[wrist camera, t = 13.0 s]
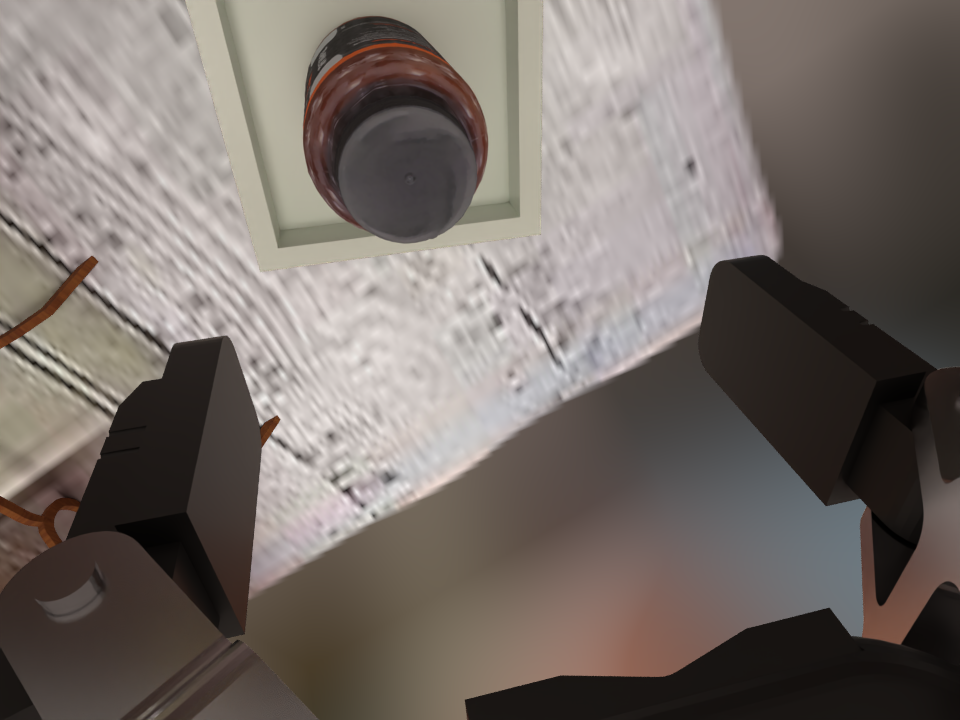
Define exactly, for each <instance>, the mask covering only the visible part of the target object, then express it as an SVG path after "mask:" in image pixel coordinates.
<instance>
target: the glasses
mask: <svg viewBox="0 0 960 720" xmlns="http://www.w3.org/2000/svg"><path fill="white" fill-rule="evenodd" d="M97 263H98V261H97V260H96V258H95V257H93V256H91V257H90V258H88V259H87V260H86V261H85V262H83V263H82V264H81V265H80V266H78V267H77V268H76V270H75V271H74V272H73V273H72V274H71V275H70V276H69V278H68V279H67V280H66V281H65V282H64V283H63V284H62V286H61V287H60V288H59V289H58V290H57V291H56V293H55V294H54V295H53V296H52V297H51V298H50V299H49V301H48V302H47V303H46V304H45V305H44V306H43V307H42V308H41V309H40V310H38V311H37V312H35V313H34V314H33V315H31V316H30V317H28V318H27V319H25V320H24V321H23V322H21V323H20V324H18V325H17V326H15V327H14V328H12V329H11V330H9V331H7V332H6V333H4V334H2V335H1V336H0V349H1V348H3V347H4V346H6V345H8V344H9V343H11V342H13V341H14V340H16V339H18V338H19V337H21V336H22V335H24V334H25V333H27V332H28V331H30V330H31V329H33V328H34V327H35V326H37V325H38V324H40V323H41V322H43V321H44V320H46V319H47V318H48V317H50V316H51V315H53V314H54V313H55V311H56V310H57V309H58V308H59V307H60V306H61V305H62V303H63V302H64V301H65V300H66V299H67V298H68V296H69V295H70V294H71V293H72V292H73V291H74V289H75V288H76V287H77V286H78V285H79V284H80V282H81V281H82V280H83V279H84V278H85V277H86V276H87V274H88V273H89V272H90V271H91V270H92V269H93V267H94V266H95V265H96V264H97ZM279 421H280V418H279V417H278V416H275V417H274V418H272V419H270V420H268V421H267V422H265V423H264V425H263V426H262V428H261V429H260V434H261V448H262V447H263V445H264V444H265V442H266V441H267V439H268V438H269V436H270V435H271V433H272V432H273V430H274V429H275V427H276V426H277V424H278V423H279ZM80 503H81V502H79V501H77V500H75V499H71V498H60V499H57V500H55V501H54V502H53V503H52V504H51V505H49V506H48V507H47V508H46V509H45V511H44V512H43V514H42V516H40V515H36V514H33V513H31V512H29V511H27V510H25V509H23V508H21V507H19V506H17V505H16V504H14V503H12V502H10V501H8V500H7V499H5V498H3V497H1V496H0V513H2V514H4V515H6V516H8V517H10V518H12V519H14V520H16V521H18V522H20V523H22V524H25V525H29V526H37V527H38V529H39V533H40V535H41V537H42V539H43V540H44V542H45V543H46V544H47V546H48V547H49V548H51V547H53V546H55V545H57V544H59V543H61V542H62V540H61V539H60V538H59V536H58V535H57V533H56V531H55V528H54V518H55V516H56V514H57V512H58V511H59V510H71V511H75V512H77V511H78V508H79V506H80Z"/></svg>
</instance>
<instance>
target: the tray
mask: <svg viewBox="0 0 960 720" xmlns="http://www.w3.org/2000/svg"><path fill="white" fill-rule="evenodd" d="M185 2H186V6H187V9H188V13H189V16H190V20H191V24H192V27H193V31H194V34H195V38H196V42H197V45H198V49H199V52H200V56H201V60H202V63H203V67H204V71H205V74H206V78H207V81H208V85H209V89H210V92H211V96H212V99H213V103H214V107H215V110H216V114H217V117H218V121H219V125H220V128H221V132H222V135H223V139H224V143H225V146H226V150H227V154H228V157H229V161H230V164H231V168H232V172H233V175H234V179H235V182H236V186H237V190H238V193H239V197H240V200H241V204H242V208H243V211H244V215H245V218H246V222H247V226H248V229H249V233H250V237H251V240H252V244H253V247H254V251H255V255H256V258H257V262H258V265H259V269H260V272H264V271H272V270H279V269H287V268H294V267H301V266H309V265H316V264H324V263H331V262H339V261H346V260H354V259H361V258H369V257H376V256H384V255H391V254H399V253H406V252H414V251H421V250H429V249H436V248H444V247H451V246H459V245H466V244H474V243H481V242H488V241H496V240H503V239H511V238H518V237H526V236H533V235H541V140H542V39H543V0H185ZM365 16H382V17H388V18H392V19H395V20H398V21H400V22H403V23H405V24H407V25H409V26H411V27H412V28H414V29H415V30H417V31H418V32H419V33H420V34H421V35H422V36H423V37H424V38H425V39H426V40H427V41H428V42H429V43H430V44H431V45H432V46H433V47H434V48H435V49H436V50H437V51H438V52H439V53H440V54H441V56H442V57H443V58H444V59H445V60H446V61H447V62H448V63H449V64H450V65H451V66H452V67H453V68H454V70H455V71H456V72H457V73H458V74H459V75H460V76H461V77H462V78H463V79H464V81H465V82H466V83H467V84H468V85H469V86H470V88H471V89H472V91H473V92H474V94H475V96H476V98H477V100H478V102H479V104H480V106H481V109H482V112H483V115H484V118H485V122H486V127H487V133H488V156H487V163H486V167H485V172H484V174H483V177H482V180H481V182H480V184H479V186H478V188H477V190H476V192H475V194H474V195H473V198H472V201H471V204H470V206H469V207H468V209H467V210H466V212H465V214H464V215H463V217H462V218H461V219H460V220H459V221H458V222H457V223H456V224H455V225H454V226H453V227H452V228H450V229H449V230H448V231H446V232H445V233H443V234H441V235H439V236H437V237H436V238H434V239H429V240H426V241H422V242H417V243H408V244H403V243H396V242H391V241H387V240H384V239H382V238H379V237H377V236H375V235H373V234H372V233H370V232H368V231H365V230H363V229H360V228H357V227H355V226H354V225H352V224H350V223H349V222H347V221H345V220H344V219H343V218H341V217H340V216H339V215H337V214H336V213H335V212H334V211H333V210H332V209H331V208H330V207H329V206H328V204H327V203H326V202H325V201H324V199H323V198H322V197H321V195H320V194H319V192H318V191H317V189H316V187H315V185H314V183H313V181H312V179H311V177H310V175H309V173H308V169H307V165H306V160H305V155H304V148H303V120H304V107H305V105H304V104H305V83H306V78H307V72H308V67H309V65H310V63H311V60H312V57H313V55H314V53H315V52H316V49H317V48H318V46H319V45H320V44H321V42H322V41H323V39H324V38H325V37H326V36H327V35H328V34H329V33H330V32H332V31H333V30H334V29H335V28H337V27H338V26H340V25H341V24H343V23H345V22H347V21H350V20H352V19H355V18H358V17H365Z"/></svg>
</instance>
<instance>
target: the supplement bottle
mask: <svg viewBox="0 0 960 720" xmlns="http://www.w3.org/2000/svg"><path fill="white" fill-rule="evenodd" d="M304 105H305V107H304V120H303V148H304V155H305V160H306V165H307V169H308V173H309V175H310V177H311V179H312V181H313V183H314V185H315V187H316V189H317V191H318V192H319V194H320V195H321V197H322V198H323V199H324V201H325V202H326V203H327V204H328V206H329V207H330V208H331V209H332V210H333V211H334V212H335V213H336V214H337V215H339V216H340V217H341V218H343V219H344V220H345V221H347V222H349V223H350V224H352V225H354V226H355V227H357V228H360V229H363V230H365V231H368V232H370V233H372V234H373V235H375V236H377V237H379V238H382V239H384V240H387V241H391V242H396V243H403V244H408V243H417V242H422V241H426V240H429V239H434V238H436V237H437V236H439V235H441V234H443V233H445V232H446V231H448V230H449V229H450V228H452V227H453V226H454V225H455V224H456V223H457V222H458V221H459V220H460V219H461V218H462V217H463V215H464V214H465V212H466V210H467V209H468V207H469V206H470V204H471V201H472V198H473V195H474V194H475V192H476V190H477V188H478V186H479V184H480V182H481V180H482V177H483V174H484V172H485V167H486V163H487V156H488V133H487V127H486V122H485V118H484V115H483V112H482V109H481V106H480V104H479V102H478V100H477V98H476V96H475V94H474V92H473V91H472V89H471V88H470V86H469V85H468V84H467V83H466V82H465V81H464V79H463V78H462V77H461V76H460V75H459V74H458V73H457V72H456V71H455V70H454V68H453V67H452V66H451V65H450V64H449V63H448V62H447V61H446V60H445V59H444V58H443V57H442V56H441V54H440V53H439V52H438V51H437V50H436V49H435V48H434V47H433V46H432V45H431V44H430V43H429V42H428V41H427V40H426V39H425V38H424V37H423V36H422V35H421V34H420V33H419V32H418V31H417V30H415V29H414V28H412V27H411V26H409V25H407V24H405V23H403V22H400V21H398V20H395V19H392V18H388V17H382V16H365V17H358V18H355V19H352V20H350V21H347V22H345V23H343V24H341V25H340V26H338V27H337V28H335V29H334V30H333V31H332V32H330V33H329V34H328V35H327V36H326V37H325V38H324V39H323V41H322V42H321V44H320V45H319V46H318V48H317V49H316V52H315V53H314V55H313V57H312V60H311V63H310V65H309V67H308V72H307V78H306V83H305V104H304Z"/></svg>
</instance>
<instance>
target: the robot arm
mask: <svg viewBox="0 0 960 720" xmlns="http://www.w3.org/2000/svg"><path fill="white" fill-rule="evenodd" d="M698 349H699V355H700V359H701V362H702V364H703V366H704V368H705V370H706V371H707V373H708V374H709V375H710V376H711V377H712V378H713V380H714V381H715V382H716V383H717V384H718V385H719V386H720V387H721V388H722V390H723V391H724V392H725V393H726V394H727V395H728V396H729V398H730V399H731V400H732V401H733V402H734V403H735V404H736V405H737V406H738V408H739V409H740V410H741V411H742V412H743V413H744V414H745V416H746V417H747V418H748V419H749V420H750V421H751V422H752V424H753V425H754V426H755V427H756V428H757V429H758V430H759V431H760V433H762V435H763V436H764V437H765V438H766V439H767V440H768V441H769V443H770V444H771V445H772V446H773V447H774V448H775V449H776V451H778V453H779V454H780V455H781V456H782V457H783V458H784V459H785V461H786V462H787V463H788V464H789V465H790V466H791V467H792V469H793V470H794V471H795V472H796V473H797V474H798V475H799V476H800V477H801V479H802V480H803V481H804V482H805V483H806V484H807V485H808V486H809V488H810V489H811V490H812V491H813V492H814V493H815V494H816V496H817V497H818V498H819V499H820V500H821V501H822V502H823V503H824V505H825V506H829V505H834V504H838V503H842V502H847V501H851V500H856V499H861V500H862V501H863V502H864V503H865V504H866V505H867V506H866V509H865V511H864V513H863V515H862V517H861V521H860V538H861V562H862V563H861V564H862V589H863V615H864V623H863V633H862V637H856V636H851V635H850V634H849V633H848V631H847V630H846V629H845V628H844V626H843V625H842V624H841V622H840V621H839V620H838V618H837V617H836V616H835V614H834V613H833V612H832V610H831V609H830V608H826V609H822V610H818V611H814V612H811V613H807V614H803V615H799V616H795V617H791V618H787V619H783V620H779V621H775V622H771V623H767V624H763V625H759V626H755V627H751V628H747V629H745V630H743V631H742V632H740V633H738V634H737V635H735V636H734V637H732V638H730V639H729V640H727V641H726V642H724V643H722V644H721V645H719V646H718V647H716V648H714V649H713V650H711V651H710V652H708V653H706V654H705V655H703V656H702V657H700V658H698V659H697V660H695V661H693V662H692V663H690V664H689V665H687V666H686V667H684V668H682V669H681V670H679V671H677V672H675V673H673V674H671V675H669V676H665V677H621V676H617V677H616V676H557V677H553V678H549V679H545V680H541V681H538V682H533V683H530V684H525V685H522V686H518V687H514V688H510V689H506V690H502V691H498V692H494V693H490V694H486V695H482V696H478V697H474V698H470V699H466V700H465V705H466V713H467V720H960V367H948V368H941V369H939V370H937V369H936V368H934V367H933V366H932V365H930V364H929V363H928V362H926V361H925V360H923V359H922V358H921V357H919V356H918V355H916V354H915V353H913V352H912V351H911V350H909V349H908V348H906V347H905V346H903V345H902V344H901V343H899V342H898V341H897V340H895V339H894V338H892V337H891V336H889V335H888V334H886V333H885V332H884V331H882V330H881V329H879V328H878V327H877V326H875V325H874V324H870V325H869V324H868V320H867V319H865V318H864V317H863V316H861V315H860V314H858V313H857V312H855V311H854V310H853V311H850V310H849V307H848V306H847V305H846V304H844V303H843V302H841V301H840V300H839V299H837V298H836V297H834V296H833V295H831V294H830V293H829V292H827V291H826V290H823V289H821V288H818V287H816V286H813V285H811V284H808V283H806V282H803V281H801V280H800V279H798V278H797V277H795V276H794V275H793V274H791V273H790V272H789V271H787V270H786V269H784V268H783V267H782V266H780V265H779V264H778V263H776V262H775V261H773V260H772V259H771V258H769V257H767V256H765V255H757V256H750V257H744V258H737V259H731V260H724V261H720V262H718V263H717V264H716V265H715V266H714V268H713V269H712V272H711V275H710V279H709V285H708V290H707V295H706V301H705V306H704V311H703V317H702V322H701V327H700V333H699V339H698ZM100 455H101V459H98V460H97V463H96V465H95V468H94V470H93V473H92V475H91V478H90V480H89V483H88V485H87V488H86V490H85V493H84V495H83V498H82V501H81V503H80V506H79V508H78V511H77V513H76V516H75V518H74V521H73V523H72V526H71V528H70V531H69V533H68V536H67V538H66V541H63V542H61V543H59V544H57V545H55V546H53V547H51V548H49V549H48V550H46V551H44V552H43V553H41V554H40V555H38V556H37V557H35V558H34V559H32V560H31V561H30V562H29V563H28V564H26V565H25V566H24V567H23V568H22V569H21V570H20V571H19V572H18V573H17V574H16V575H15V576H14V577H13V578H12V579H11V580H10V581H9V582H8V584H7V585H6V586H5V587H4V589H3V590H2V592H1V594H0V720H318V719H317V717H315V715H314V714H313V713H312V712H311V711H310V710H309V709H308V708H307V707H306V706H305V705H304V704H303V703H302V702H301V701H300V700H299V698H298V697H297V696H296V695H295V694H294V693H293V692H292V691H291V690H290V689H289V688H288V687H287V686H286V685H285V684H284V683H283V681H282V680H281V679H280V678H279V677H278V676H277V675H276V674H275V673H274V672H273V671H272V670H271V669H270V668H269V667H268V666H267V664H266V663H265V662H263V660H262V659H261V658H260V657H259V656H258V655H257V654H256V653H255V652H254V651H253V650H252V649H251V648H250V647H249V646H247V645H246V644H245V643H244V642H242V641H240V640H237V641H235V642H234V643H233V644H232V643H231V642H230V641H228V640H227V639H226V638H230V637H234V636H239V635H243V634H245V626H246V615H247V605H248V594H249V583H250V572H251V561H252V550H253V539H254V528H255V517H256V506H257V495H258V484H259V473H260V463H261V434H260V427H259V422H258V418H257V414H256V411H255V408H254V405H253V402H252V399H251V396H250V393H249V390H248V387H247V384H246V381H245V378H244V375H243V372H242V369H241V366H240V363H239V360H238V357H237V354H236V351H235V348H234V346H233V344H232V342H231V340H230V338H229V337H228V336H220V337H213V338H207V339H200V340H194V341H187V342H181V343H176V344H174V345H173V347H172V349H171V353H170V356H169V359H168V362H167V365H166V368H165V371H164V374H163V377H162V379H157V380H151V381H144V382H142V383H141V384H140V385H139V386H138V387H137V388H136V389H135V390H134V391H133V392H132V393H131V394H130V395H129V396H128V397H127V398H126V399H125V400H124V401H123V403H122V404H121V405H120V406H119V407H118V410H117V412H116V415H115V417H114V420H113V422H112V425H111V427H110V430H109V437H106V440H105V443H104V445H103V448H102V450H101V453H100Z"/></svg>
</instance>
